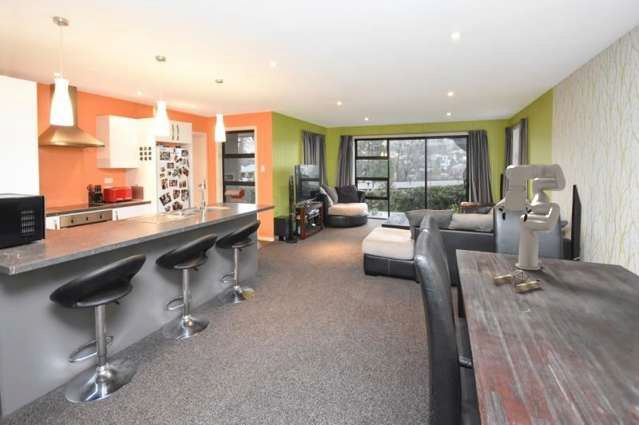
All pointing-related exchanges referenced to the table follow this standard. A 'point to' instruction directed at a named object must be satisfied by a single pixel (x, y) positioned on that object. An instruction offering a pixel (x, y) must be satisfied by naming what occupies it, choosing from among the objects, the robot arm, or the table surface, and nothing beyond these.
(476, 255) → the table surface
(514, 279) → the game die
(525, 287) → the parallel beige rails
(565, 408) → the table surface
